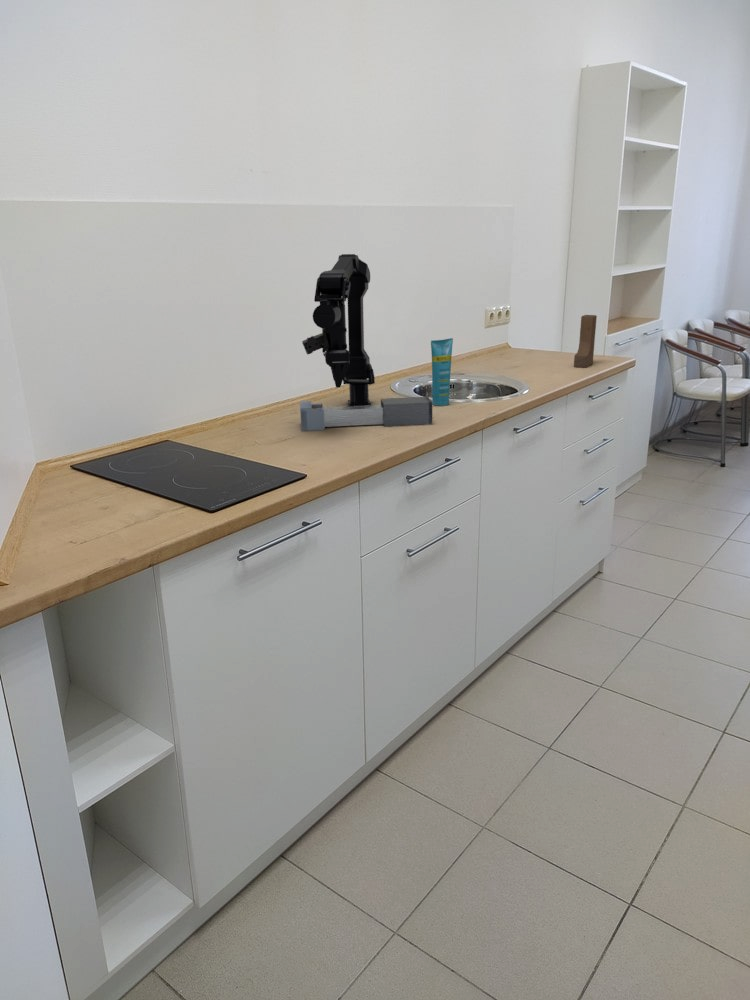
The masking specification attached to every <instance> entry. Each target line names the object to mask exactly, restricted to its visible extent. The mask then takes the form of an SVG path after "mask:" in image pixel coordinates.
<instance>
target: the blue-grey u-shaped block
mask: <svg viewBox="0 0 750 1000" xmlns="http://www.w3.org/2000/svg"><path fill="white" fill-rule="evenodd" d="M321 407H323V403H322V402H321V403H312V400H305V401H304V400H303V401H302V400H301V401H299V409H300V424H301V431H302V432H308V431H310V432H311V431H325V427H324V409H312V408H321Z"/></svg>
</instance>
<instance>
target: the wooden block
mask: <svg viewBox="0 0 750 1000" xmlns="http://www.w3.org/2000/svg"><path fill="white" fill-rule="evenodd" d="M597 317H598V316H597V314H596V315H595V314H584V315H582V316H580V329H579V331H580V332H579V343H578V349H577V352H576V353H575V354H574V357H573V358H574V360H573V367H574V368H580V369H581V368H582V369H586V368H587V367H589V366H592V365H593V363H594V350H595V344H596V343H595V342H596V341H595V340H596V330H597V329H596V328H597Z"/></svg>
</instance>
